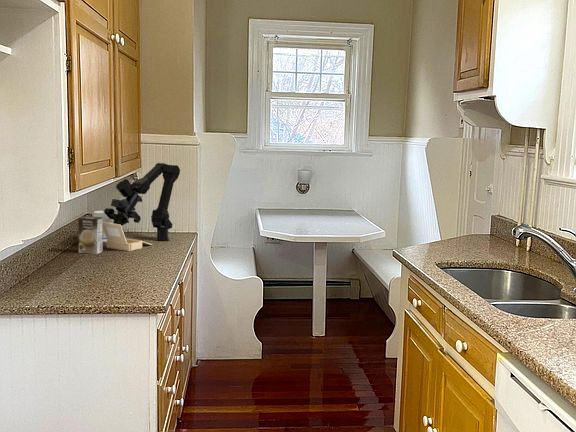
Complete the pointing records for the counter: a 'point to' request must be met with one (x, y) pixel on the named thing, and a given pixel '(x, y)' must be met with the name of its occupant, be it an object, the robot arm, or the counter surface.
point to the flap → (114, 232)
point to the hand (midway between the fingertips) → (113, 229)
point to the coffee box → (90, 235)
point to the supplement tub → (104, 219)
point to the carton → (126, 245)
